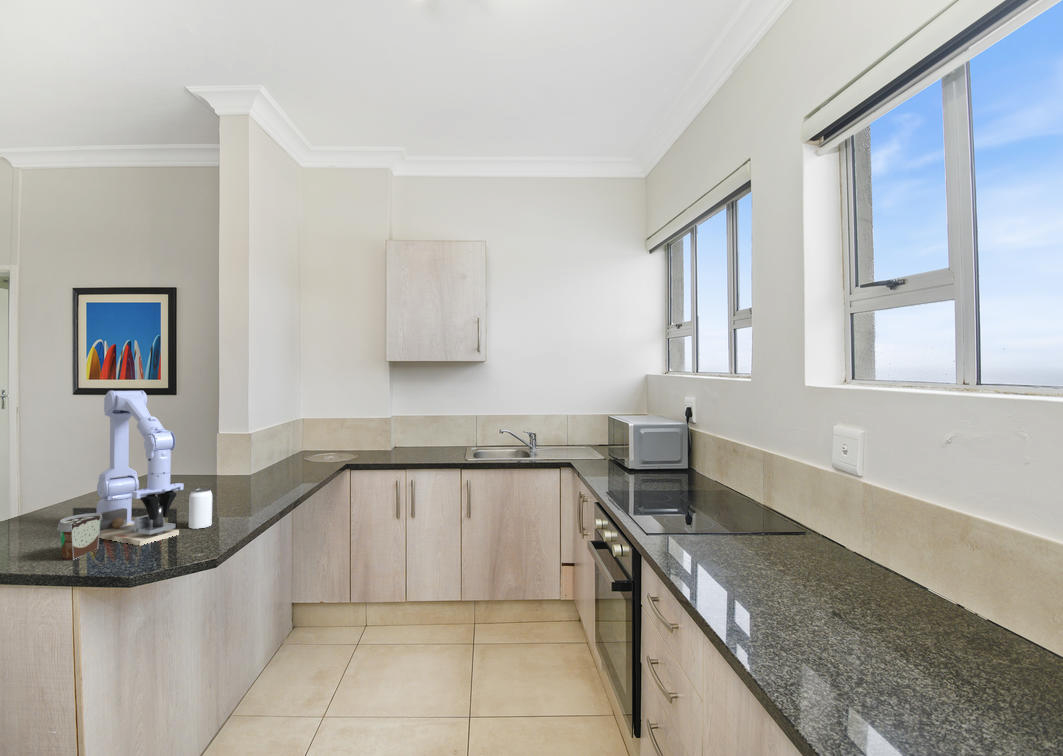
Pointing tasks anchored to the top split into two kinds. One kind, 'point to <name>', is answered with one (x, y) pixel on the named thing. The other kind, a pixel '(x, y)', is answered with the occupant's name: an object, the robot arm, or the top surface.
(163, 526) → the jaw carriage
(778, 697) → the top surface
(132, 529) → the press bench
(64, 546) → the food container
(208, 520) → the can
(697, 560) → the top surface
